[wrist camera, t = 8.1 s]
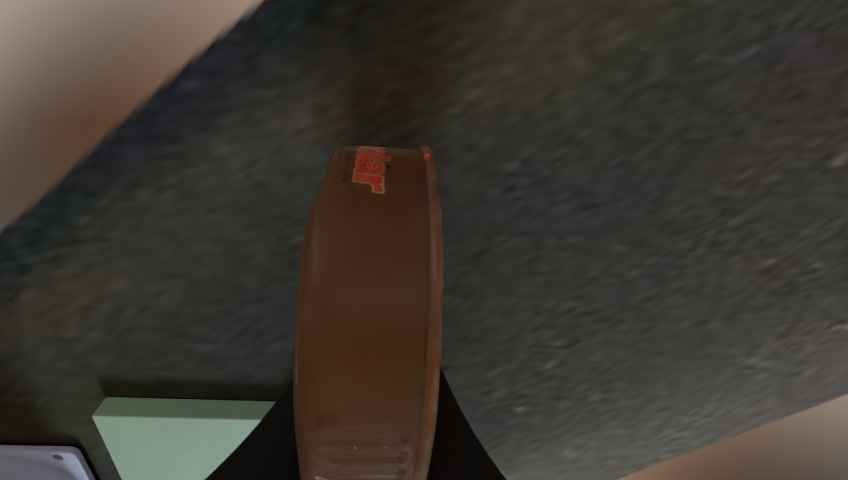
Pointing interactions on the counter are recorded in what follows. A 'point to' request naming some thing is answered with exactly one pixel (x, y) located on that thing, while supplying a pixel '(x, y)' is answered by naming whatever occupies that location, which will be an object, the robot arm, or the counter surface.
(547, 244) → the counter surface
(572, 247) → the counter surface
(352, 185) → the tin
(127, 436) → the pale green flat piece
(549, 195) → the counter surface
